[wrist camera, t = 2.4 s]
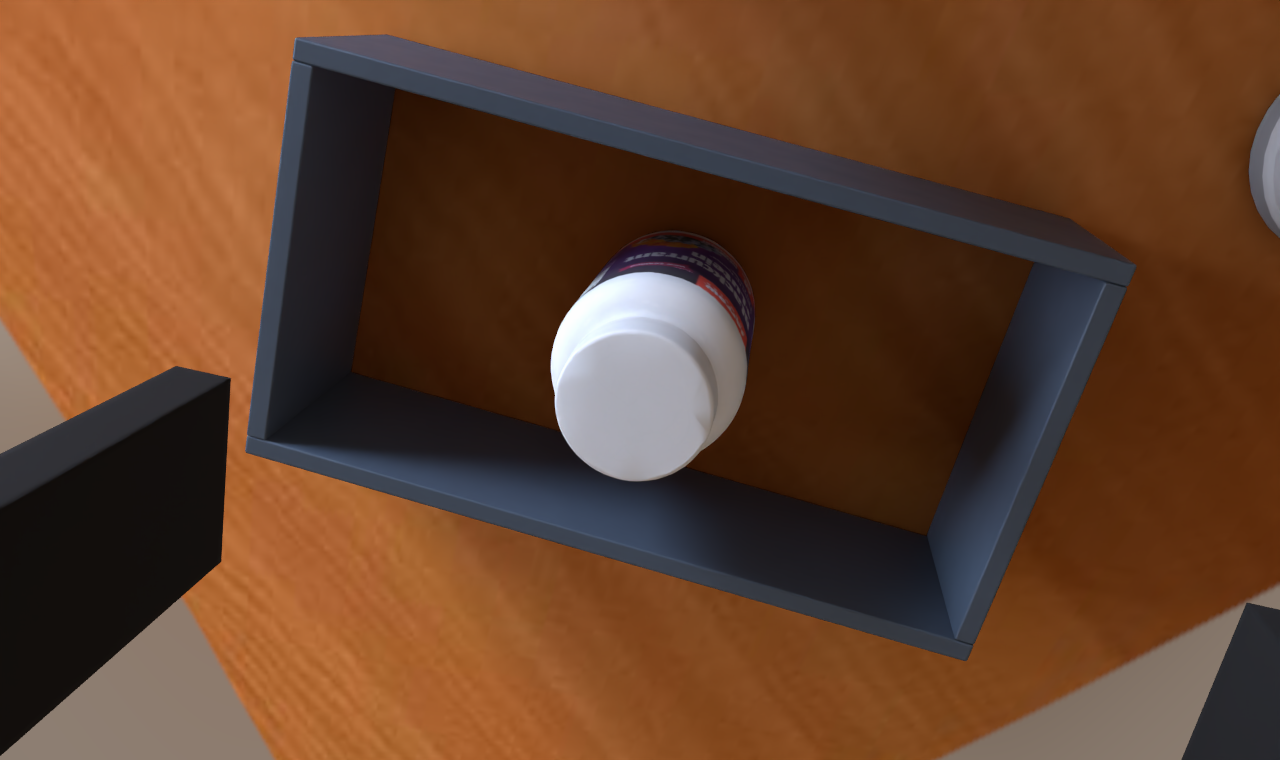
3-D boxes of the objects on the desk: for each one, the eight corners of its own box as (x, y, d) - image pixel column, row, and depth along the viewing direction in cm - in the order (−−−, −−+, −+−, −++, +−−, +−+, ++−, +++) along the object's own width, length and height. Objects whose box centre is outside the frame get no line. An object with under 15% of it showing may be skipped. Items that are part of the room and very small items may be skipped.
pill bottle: (784, 271, 34) (783, 364, 24) (712, 409, 35) (685, 543, 26) (634, 198, 33) (576, 264, 24) (569, 340, 35) (493, 451, 26)
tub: (333, 382, 37) (243, 452, 31) (385, 33, 33) (294, 37, 27) (936, 554, 36) (967, 663, 30) (1071, 218, 32) (1138, 265, 26)
